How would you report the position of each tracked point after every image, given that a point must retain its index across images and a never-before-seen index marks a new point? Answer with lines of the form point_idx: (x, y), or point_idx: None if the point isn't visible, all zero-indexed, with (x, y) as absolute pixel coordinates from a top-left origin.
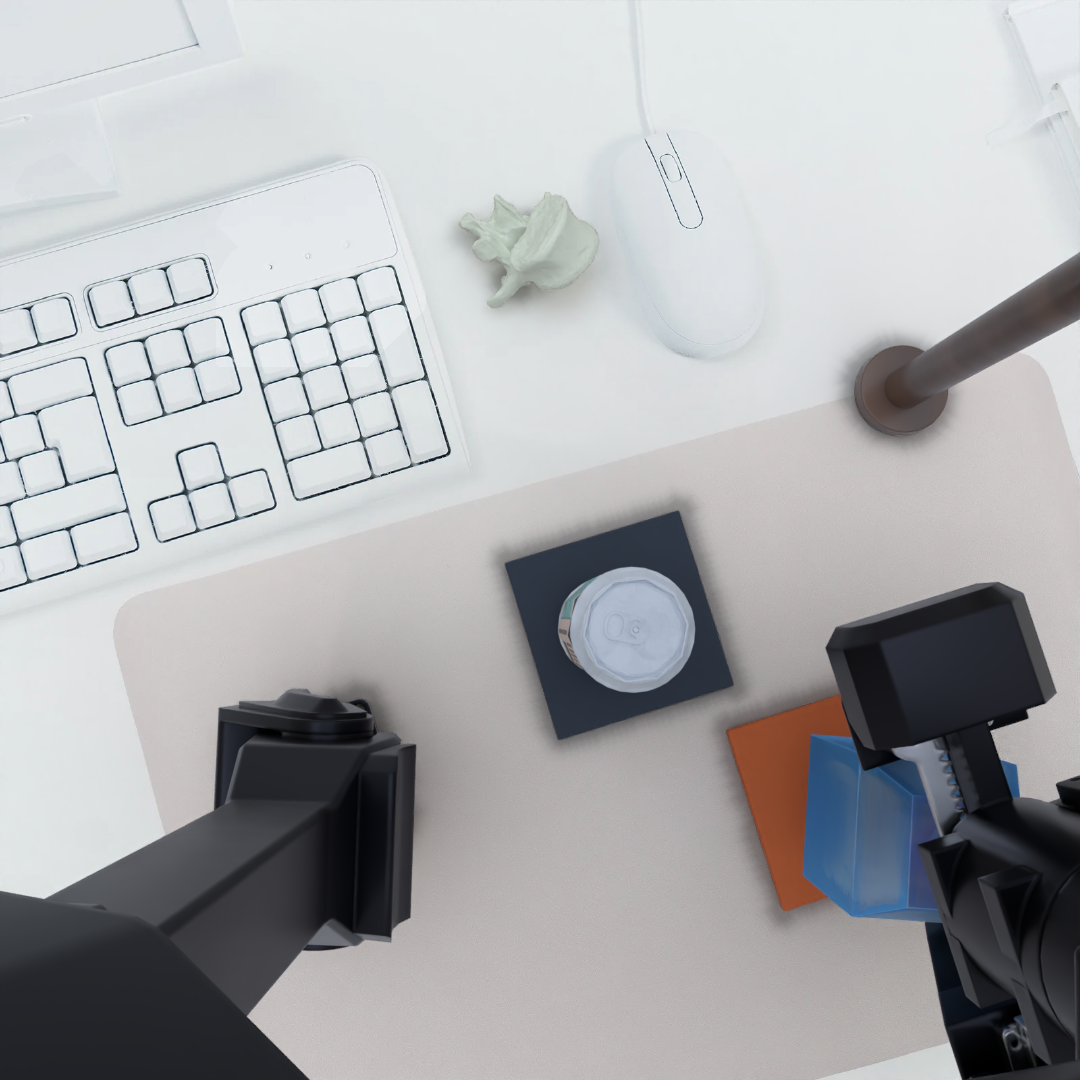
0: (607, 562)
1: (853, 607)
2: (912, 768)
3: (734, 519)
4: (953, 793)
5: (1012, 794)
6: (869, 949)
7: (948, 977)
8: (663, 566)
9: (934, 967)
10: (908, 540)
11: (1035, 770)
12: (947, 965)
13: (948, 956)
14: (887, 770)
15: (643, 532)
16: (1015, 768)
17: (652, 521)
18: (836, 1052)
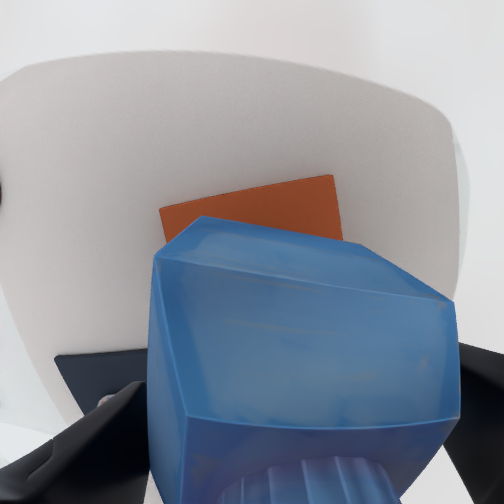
0: (91, 404)
1: (104, 241)
2: (155, 458)
3: (54, 321)
4: (174, 490)
5: (174, 389)
6: (393, 262)
7: (472, 484)
8: (87, 377)
9: (454, 464)
10: (58, 189)
11: (263, 87)
12: (461, 457)
13: (453, 439)
14: (159, 489)
15: (70, 382)
16: (155, 270)
17: (63, 375)
18: (446, 292)
